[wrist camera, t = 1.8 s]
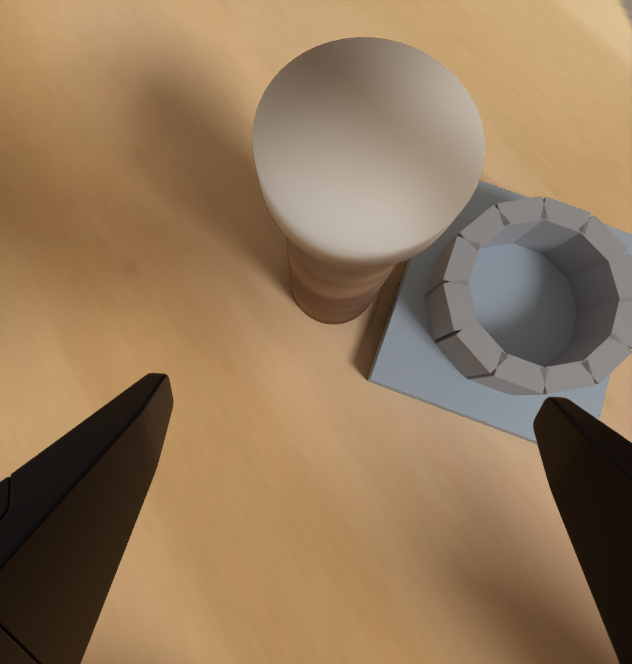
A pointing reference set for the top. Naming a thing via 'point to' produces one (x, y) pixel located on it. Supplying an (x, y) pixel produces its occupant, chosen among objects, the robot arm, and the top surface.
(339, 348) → the top surface
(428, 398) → the collar socket
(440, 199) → the walnut peg
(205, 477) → the top surface
